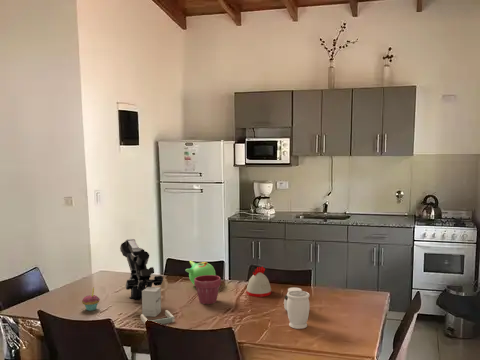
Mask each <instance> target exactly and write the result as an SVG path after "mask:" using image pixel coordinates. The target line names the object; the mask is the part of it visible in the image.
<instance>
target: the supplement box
mask: <svg viewBox="0 0 480 360" xmlns="http://www.w3.org/2000/svg"><path fill="white" fill-rule="evenodd" d="M161 291H162V287H157V286H155V287H153V286H152V287H147V288H146V289H144V290H143V291H142V298H141V308H142V309H141V314H143V315H144V316H145V317H153V318H155V317H157V316H158V315H159V314H160V313H161V312H162V292H161Z"/></svg>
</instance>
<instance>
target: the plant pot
mask: <svg viewBox="0 0 480 360" xmlns="http://www.w3.org/2000/svg"><path fill="white" fill-rule="evenodd" d="M221 283H222V282H221V277H220V276H219V275H203V276H198V277H196V278H195V279H194V284H193V285H194V287H195V289H196V292H197V293H196V294H197V297H198V302H199V303H200V304H203V305H211V304H215V303H216V302H217V299H218V294H219V290H220V286H221Z"/></svg>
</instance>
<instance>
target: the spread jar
mask: <svg viewBox="0 0 480 360" xmlns="http://www.w3.org/2000/svg"><path fill="white" fill-rule="evenodd" d="M290 291H303V289H302V288H300V287H288V288H287V293H288V292H290ZM287 293H286V294H285V296H284V298H283V299H284V300H283V304H284V305H283V307H284V310H285V311H286V312H287V299H288V297H287Z"/></svg>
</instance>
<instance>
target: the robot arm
mask: <svg viewBox="0 0 480 360" xmlns="http://www.w3.org/2000/svg"><path fill="white" fill-rule="evenodd" d="M119 249H120V250H119V251H120V252H121V254H122V256H123V257H125V258H126V260H127V263H128V267H129V270H130V277H129V279H126V282H125V290H130V297H129V299H131V300H136V301H137V300H138V301H139V300H142V291H143V290H144V289H146V288H147V287H153V286H155V287H157V286H161V285H162V284H163V281H164V278H163V276H162V275H154V278H152V279H151V275H153V274H155V268H154V266H151V267H149V268H148V267H147V264H148V261H149V258H150V253H149V252H147V251H145V249H143V248H141V247H139V245H138V244H137V242H136V239H134V238H129V239H126V240H125V241H124V242H122V243H121V244H120V247H119Z"/></svg>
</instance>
